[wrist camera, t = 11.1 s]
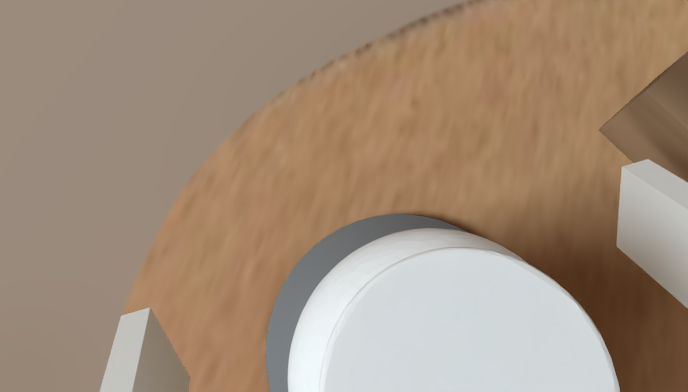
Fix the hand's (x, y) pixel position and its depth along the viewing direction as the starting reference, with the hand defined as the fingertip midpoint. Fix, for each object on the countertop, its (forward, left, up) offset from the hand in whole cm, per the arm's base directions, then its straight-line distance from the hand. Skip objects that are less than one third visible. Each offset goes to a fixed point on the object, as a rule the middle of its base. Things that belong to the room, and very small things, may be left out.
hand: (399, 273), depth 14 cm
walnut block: (-15, -1, -8) cm, 17 cm away
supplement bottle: (+1, +2, -7) cm, 8 cm away
